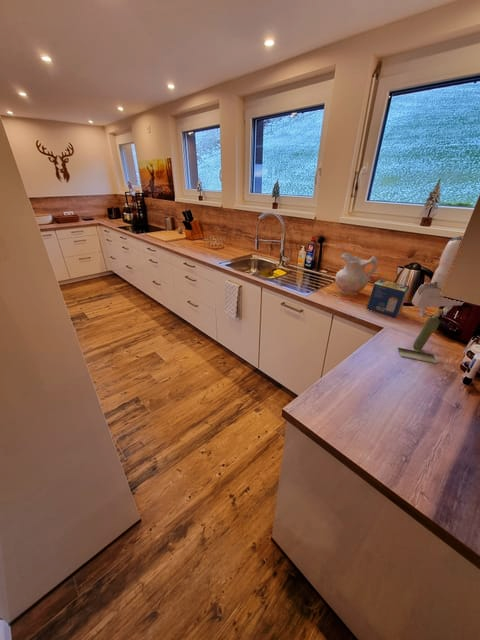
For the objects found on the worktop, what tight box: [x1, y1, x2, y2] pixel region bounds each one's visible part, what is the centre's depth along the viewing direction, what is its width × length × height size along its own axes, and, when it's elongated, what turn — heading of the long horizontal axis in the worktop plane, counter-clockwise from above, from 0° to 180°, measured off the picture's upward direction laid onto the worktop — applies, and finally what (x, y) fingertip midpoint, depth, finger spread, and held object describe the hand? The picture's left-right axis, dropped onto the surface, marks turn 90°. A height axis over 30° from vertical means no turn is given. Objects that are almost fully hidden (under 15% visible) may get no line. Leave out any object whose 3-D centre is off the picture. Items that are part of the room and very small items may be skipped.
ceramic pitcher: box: [335, 252, 379, 296], centre depth 164 cm, size 22×20×25 cm
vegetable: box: [412, 308, 443, 352], centre depth 106 cm, size 4×4×20 cm
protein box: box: [366, 278, 410, 319], centre depth 142 cm, size 10×15×16 cm
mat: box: [397, 347, 438, 365], centre depth 110 cm, size 13×11×1 cm
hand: (431, 315), depth 102 cm, fingers open, 8 cm apart
